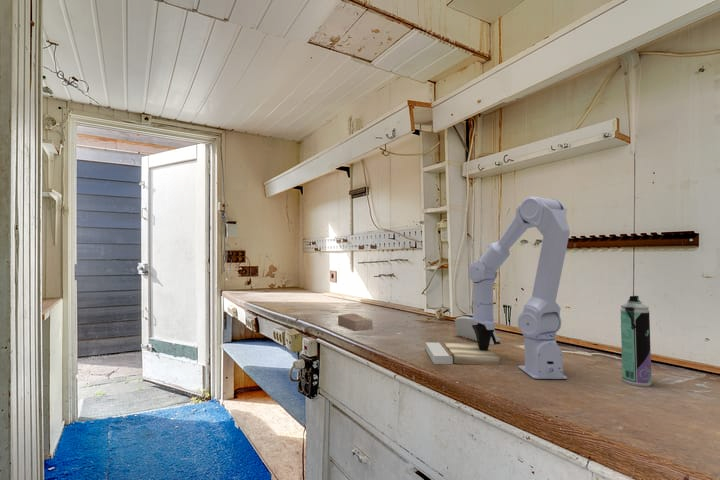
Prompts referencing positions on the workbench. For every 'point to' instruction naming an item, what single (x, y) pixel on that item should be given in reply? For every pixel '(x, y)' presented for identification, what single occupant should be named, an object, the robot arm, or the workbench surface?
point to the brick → (355, 322)
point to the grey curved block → (471, 329)
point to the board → (439, 353)
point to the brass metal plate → (471, 354)
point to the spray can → (635, 343)
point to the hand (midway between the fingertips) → (483, 350)
